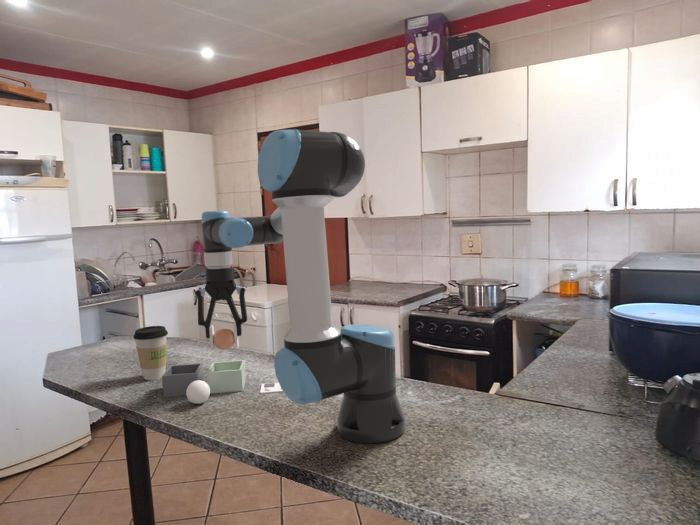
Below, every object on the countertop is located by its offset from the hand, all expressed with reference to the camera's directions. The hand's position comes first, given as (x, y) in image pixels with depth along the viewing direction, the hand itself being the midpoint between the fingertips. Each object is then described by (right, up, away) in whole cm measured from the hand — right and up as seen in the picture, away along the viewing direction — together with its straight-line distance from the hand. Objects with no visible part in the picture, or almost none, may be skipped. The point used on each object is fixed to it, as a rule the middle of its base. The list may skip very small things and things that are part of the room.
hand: (225, 347), depth 143 cm
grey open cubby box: (-11, -12, 0) cm, 16 cm away
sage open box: (+1, -11, +1) cm, 11 cm away
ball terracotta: (0, +3, 0) cm, 3 cm away
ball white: (-4, -10, -11) cm, 15 cm away
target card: (+15, -11, -1) cm, 18 cm away
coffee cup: (-25, -11, +13) cm, 30 cm away
